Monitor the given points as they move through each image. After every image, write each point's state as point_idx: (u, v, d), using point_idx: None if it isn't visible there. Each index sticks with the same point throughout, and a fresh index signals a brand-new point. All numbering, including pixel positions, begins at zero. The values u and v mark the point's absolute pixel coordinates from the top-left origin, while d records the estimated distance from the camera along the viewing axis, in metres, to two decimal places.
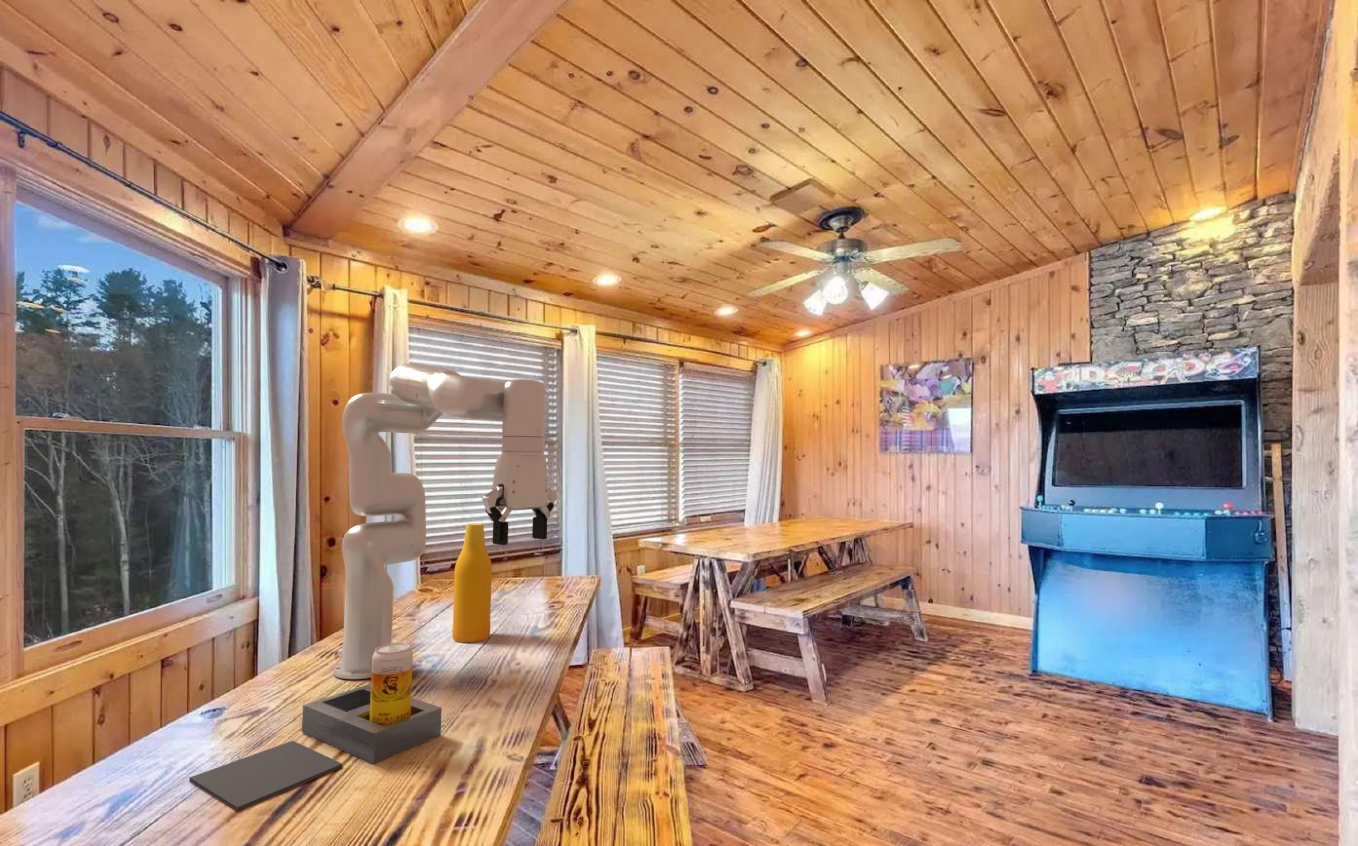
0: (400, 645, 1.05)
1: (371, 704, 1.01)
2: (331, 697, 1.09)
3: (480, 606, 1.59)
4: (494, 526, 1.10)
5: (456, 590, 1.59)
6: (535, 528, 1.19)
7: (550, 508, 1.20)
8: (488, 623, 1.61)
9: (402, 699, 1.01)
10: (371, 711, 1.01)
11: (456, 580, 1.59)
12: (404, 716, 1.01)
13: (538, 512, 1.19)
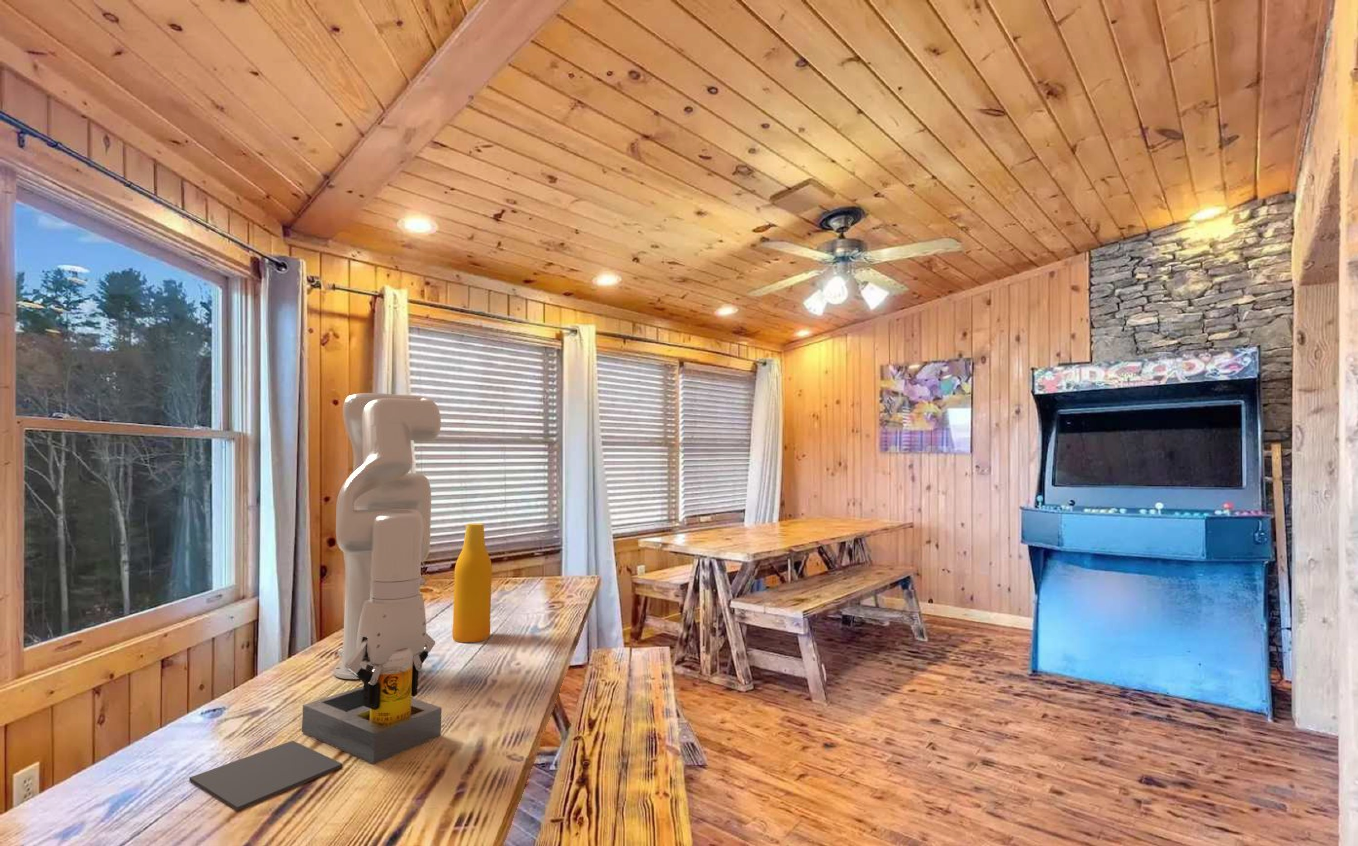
0: None
1: None
2: (331, 697, 1.09)
3: (480, 606, 1.59)
4: (365, 688, 0.99)
5: (456, 590, 1.59)
6: None
7: (423, 658, 1.07)
8: (488, 623, 1.61)
9: (402, 699, 1.01)
10: (371, 711, 1.01)
11: (456, 580, 1.59)
12: (404, 716, 1.01)
13: None
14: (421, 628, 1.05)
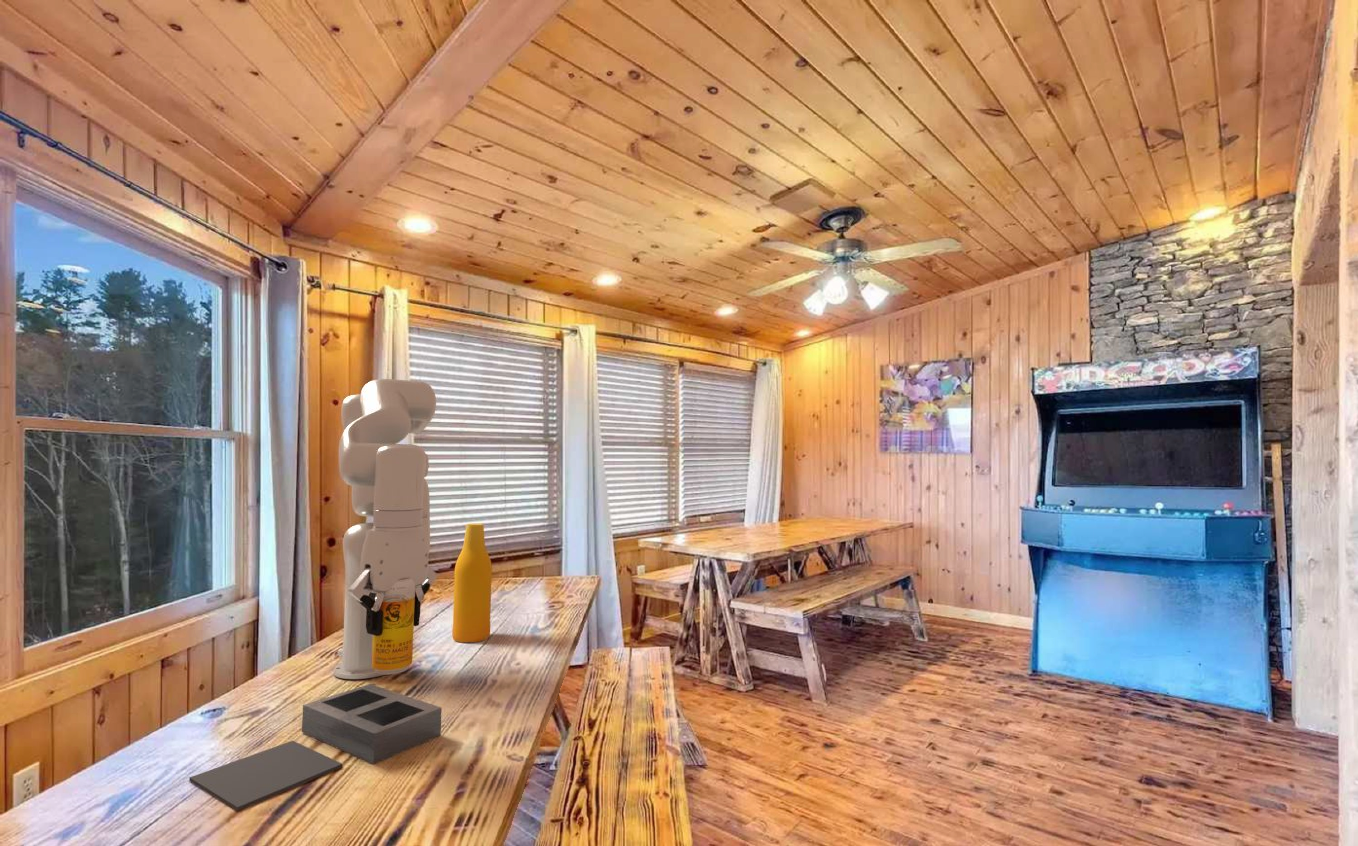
0: None
1: None
2: (331, 697, 1.09)
3: (480, 606, 1.59)
4: (368, 615, 1.00)
5: (456, 590, 1.59)
6: None
7: (425, 589, 1.08)
8: (488, 623, 1.61)
9: (404, 627, 1.02)
10: (374, 638, 1.02)
11: (456, 580, 1.59)
12: (406, 644, 1.03)
13: None
14: (423, 559, 1.06)
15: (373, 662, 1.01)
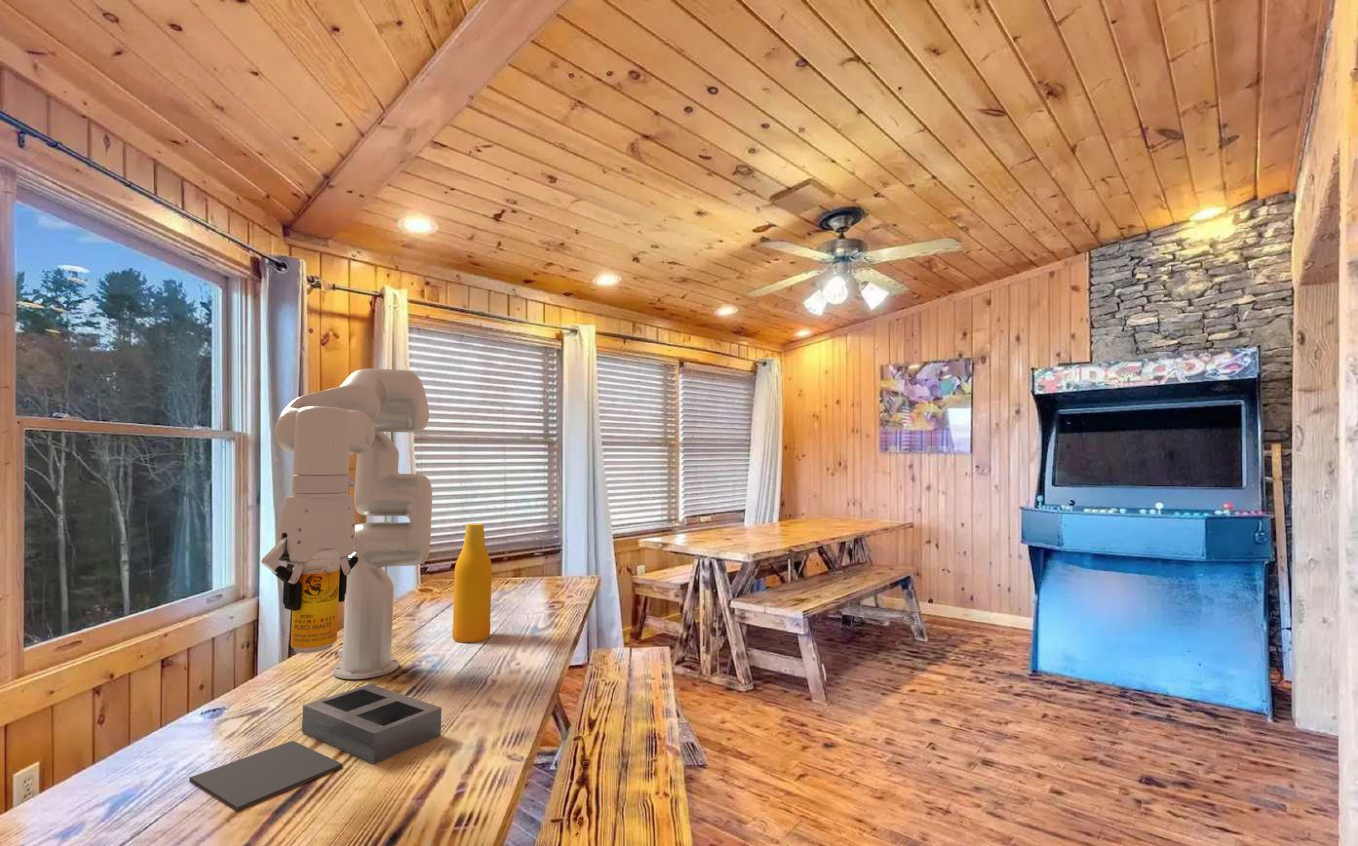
0: None
1: None
2: (331, 697, 1.09)
3: (480, 606, 1.59)
4: (285, 588, 0.93)
5: (456, 590, 1.59)
6: None
7: (352, 563, 1.01)
8: (488, 623, 1.61)
9: (326, 601, 0.95)
10: (293, 614, 0.94)
11: (456, 580, 1.59)
12: (329, 620, 0.95)
13: None
14: (349, 530, 0.99)
15: (292, 640, 0.93)
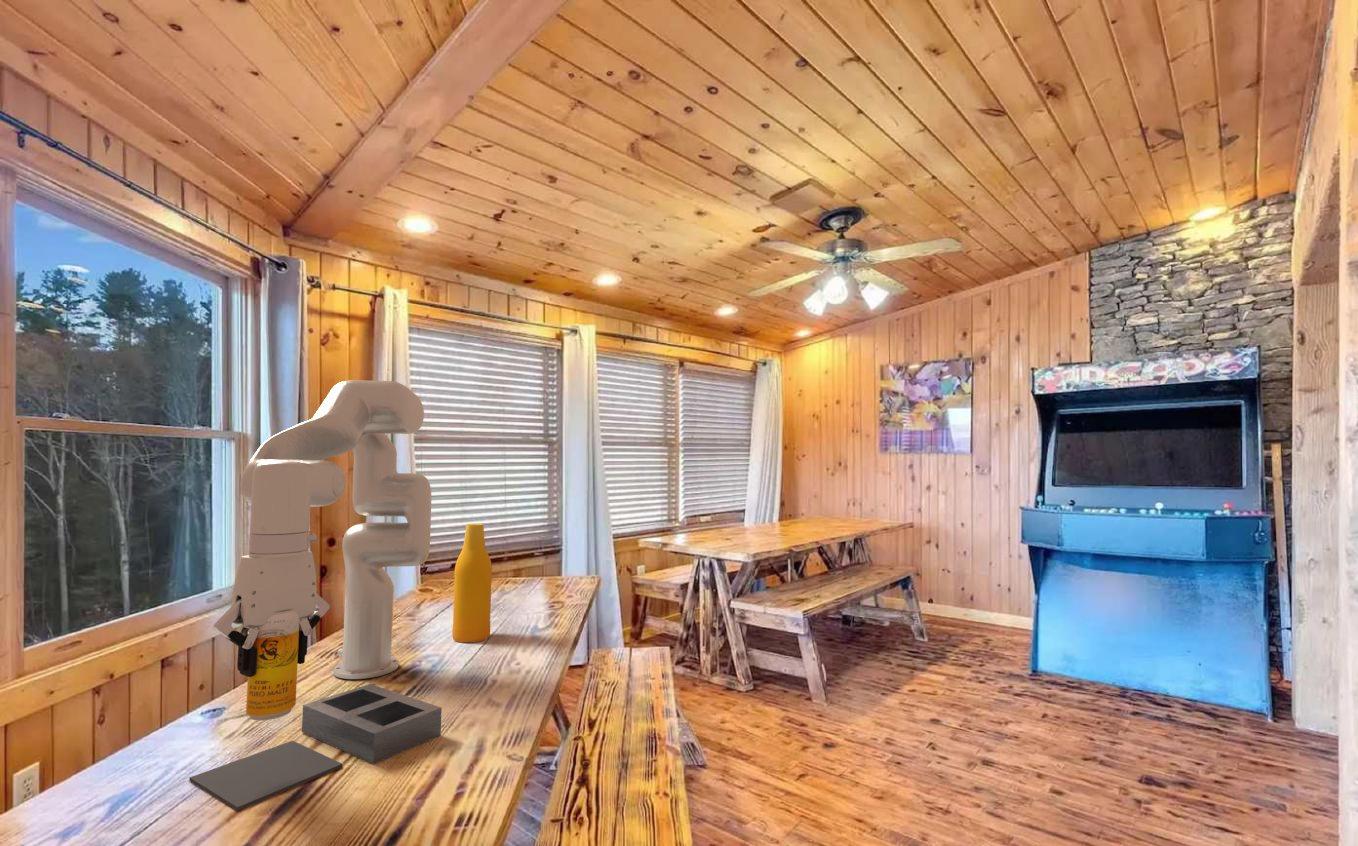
0: None
1: None
2: (331, 697, 1.09)
3: (480, 606, 1.59)
4: (239, 653, 0.89)
5: (456, 590, 1.59)
6: None
7: (314, 622, 0.97)
8: (488, 623, 1.61)
9: (283, 665, 0.91)
10: (248, 679, 0.90)
11: (456, 580, 1.59)
12: (286, 685, 0.91)
13: None
14: (310, 588, 0.95)
15: (247, 706, 0.90)
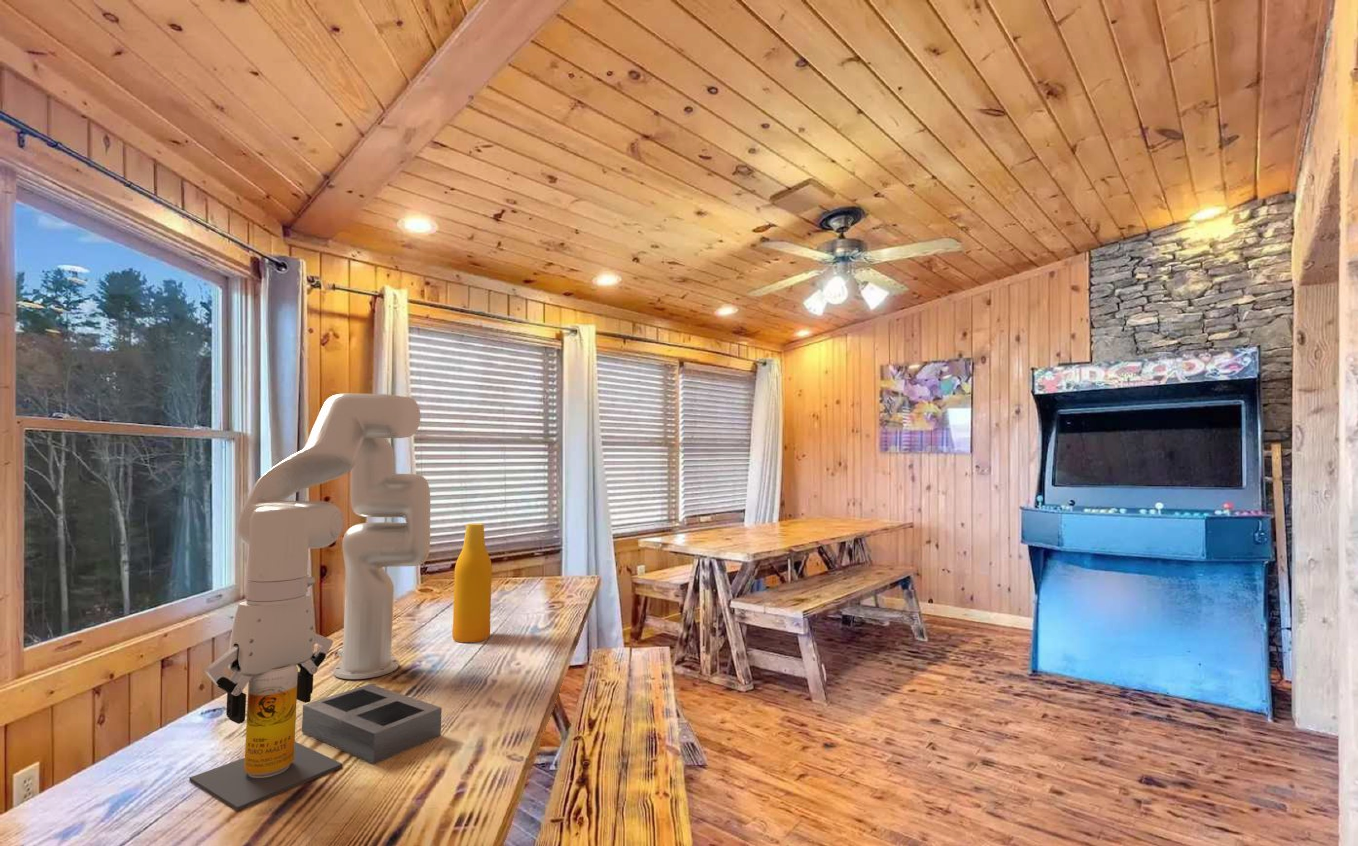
0: None
1: (246, 729, 0.90)
2: (331, 697, 1.09)
3: (480, 606, 1.59)
4: (228, 699, 0.88)
5: (456, 590, 1.59)
6: (298, 687, 0.96)
7: (319, 660, 0.97)
8: (488, 623, 1.61)
9: (281, 722, 0.90)
10: (246, 736, 0.90)
11: (456, 580, 1.59)
12: (284, 741, 0.91)
13: (303, 666, 0.97)
14: (308, 633, 0.94)
15: (245, 764, 0.89)
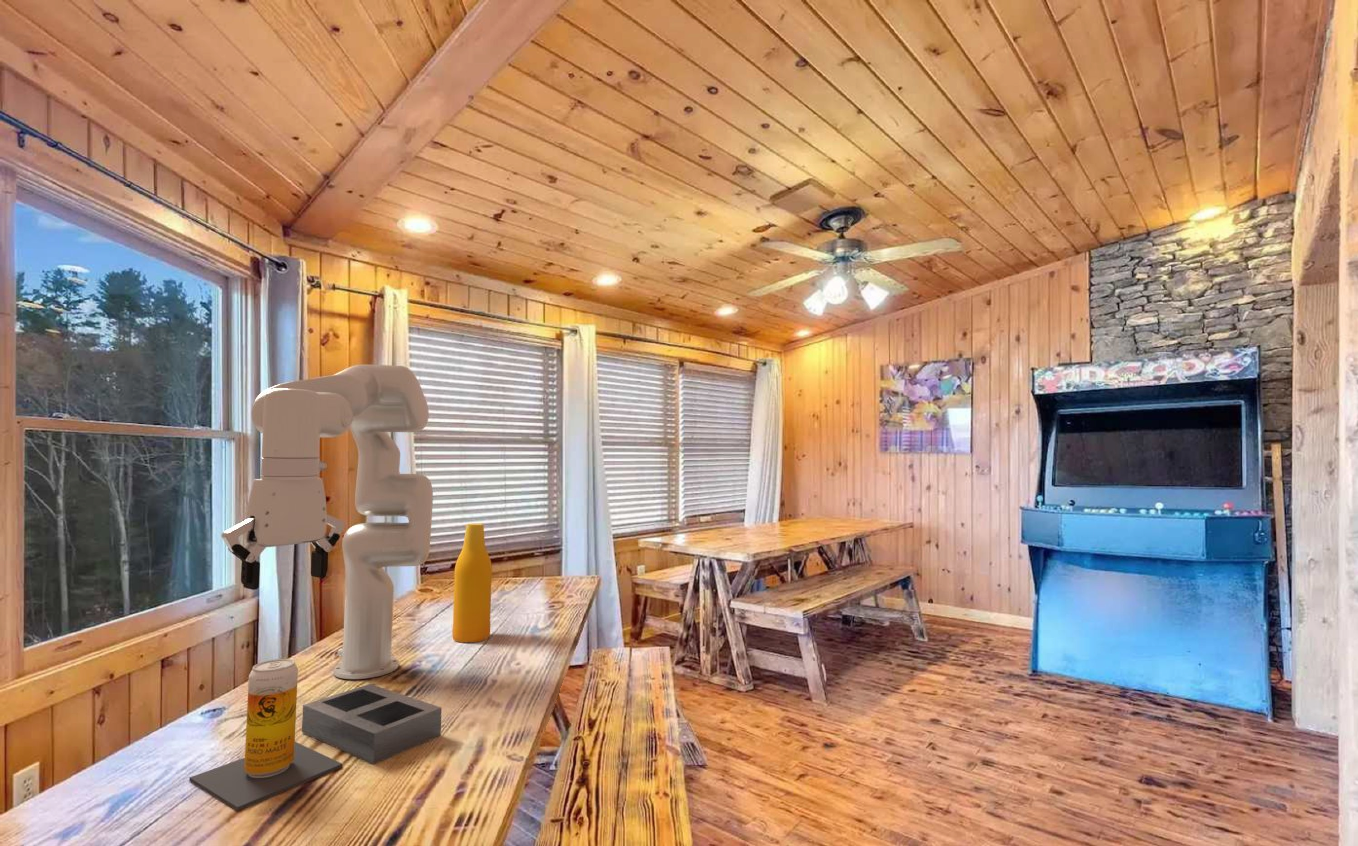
0: (284, 661, 0.94)
1: (246, 729, 0.90)
2: (331, 697, 1.09)
3: (480, 606, 1.59)
4: (243, 567, 0.91)
5: (456, 590, 1.59)
6: (313, 564, 1.00)
7: (334, 540, 1.01)
8: (488, 623, 1.61)
9: (281, 722, 0.90)
10: (246, 736, 0.90)
11: (456, 580, 1.59)
12: (284, 741, 0.91)
13: (318, 545, 1.00)
14: (320, 513, 0.98)
15: (245, 764, 0.89)
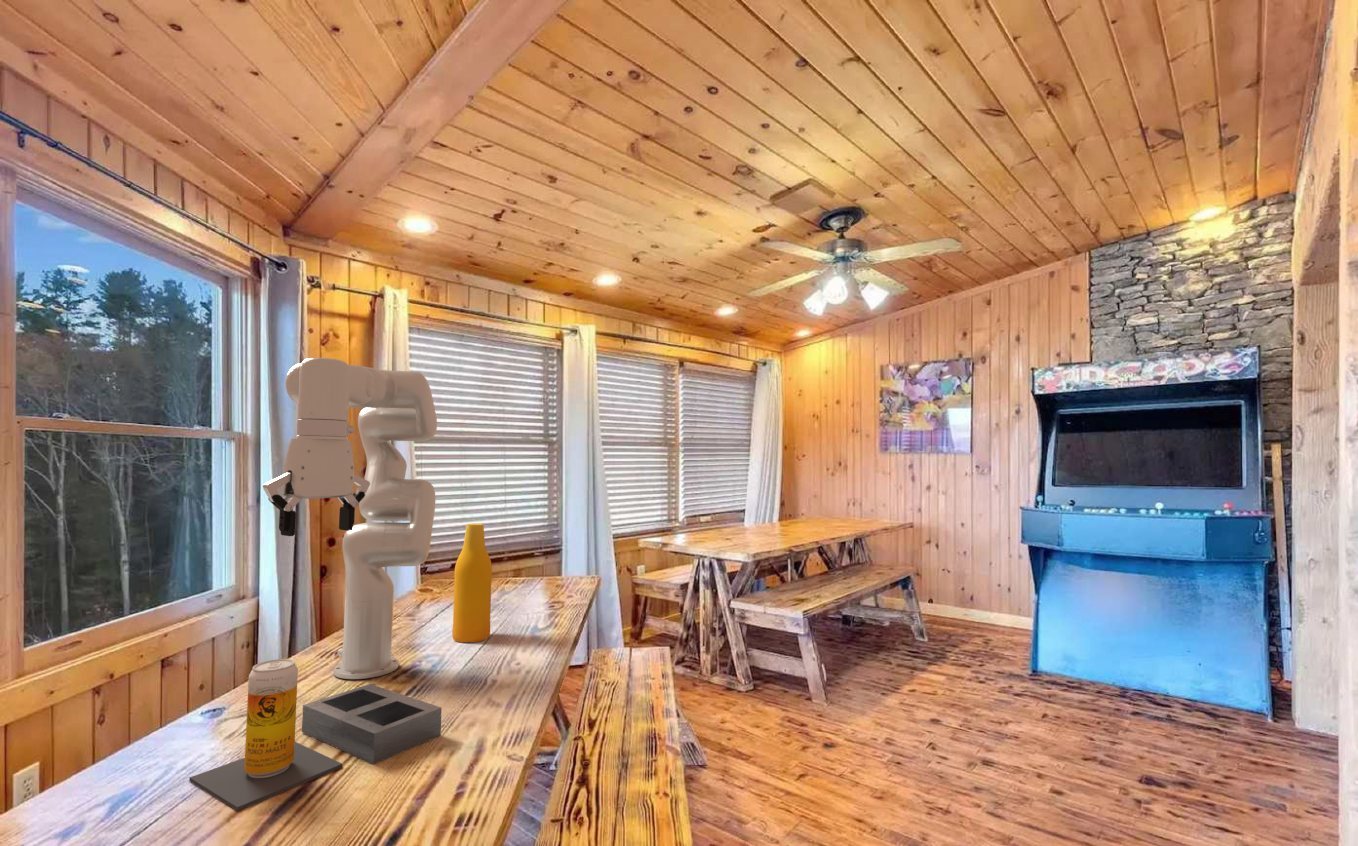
0: (284, 661, 0.94)
1: (246, 729, 0.90)
2: (331, 697, 1.09)
3: (480, 606, 1.59)
4: (280, 516, 1.01)
5: (456, 590, 1.59)
6: (341, 519, 1.10)
7: (360, 497, 1.12)
8: (488, 623, 1.61)
9: (281, 722, 0.90)
10: (246, 736, 0.90)
11: (456, 580, 1.59)
12: (284, 742, 0.91)
13: (345, 501, 1.11)
14: (348, 471, 1.09)
15: (245, 764, 0.89)
